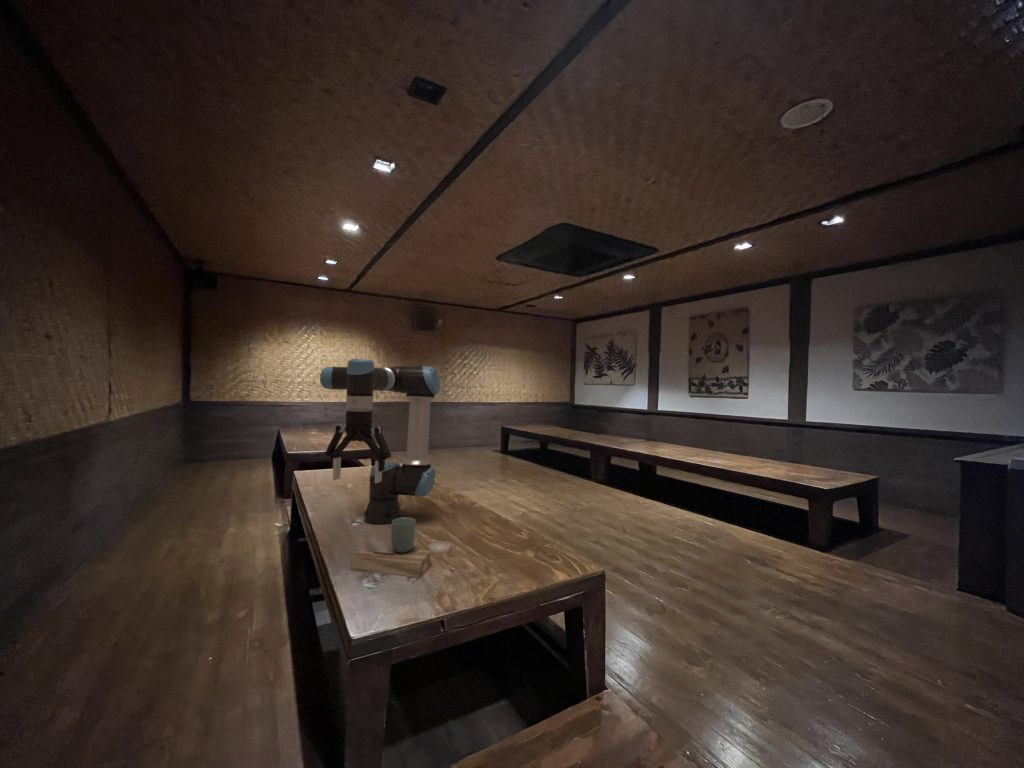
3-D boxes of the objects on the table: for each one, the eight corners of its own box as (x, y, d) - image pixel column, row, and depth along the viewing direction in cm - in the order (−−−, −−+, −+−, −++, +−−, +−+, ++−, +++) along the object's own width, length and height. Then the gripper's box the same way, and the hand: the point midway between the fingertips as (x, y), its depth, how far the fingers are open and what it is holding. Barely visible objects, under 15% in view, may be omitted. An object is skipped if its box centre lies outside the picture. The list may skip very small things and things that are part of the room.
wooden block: (365, 557, 127) (366, 544, 127) (430, 564, 124) (431, 550, 124) (350, 569, 118) (350, 555, 118) (419, 577, 115) (420, 562, 115)
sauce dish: (433, 546, 139) (433, 540, 139) (452, 548, 138) (452, 542, 138) (426, 554, 132) (426, 548, 132) (446, 556, 131) (446, 550, 131)
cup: (408, 556, 129) (409, 525, 129) (386, 553, 131) (387, 523, 131) (418, 547, 137) (419, 518, 137) (397, 544, 138) (398, 516, 138)
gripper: (313, 409, 117) (311, 480, 117) (392, 412, 113) (390, 486, 113) (329, 408, 125) (327, 475, 124) (403, 411, 121) (401, 480, 120)
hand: (357, 480), depth 119 cm, fingers open, 13 cm apart
